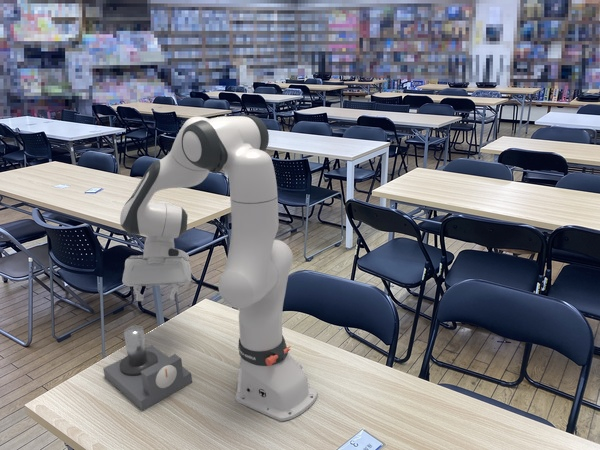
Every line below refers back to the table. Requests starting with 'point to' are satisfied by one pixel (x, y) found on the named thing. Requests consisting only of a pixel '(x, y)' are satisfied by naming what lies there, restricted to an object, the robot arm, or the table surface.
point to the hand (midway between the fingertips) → (154, 300)
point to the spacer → (135, 345)
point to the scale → (149, 377)
